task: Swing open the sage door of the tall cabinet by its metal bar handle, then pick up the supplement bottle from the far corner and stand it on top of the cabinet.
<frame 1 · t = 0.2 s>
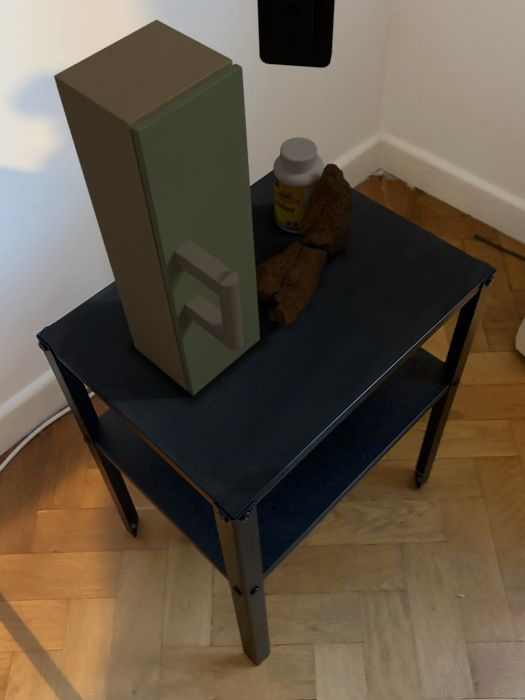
hand: (309, 5, 36), 41 cm above the table, tool pointing down, fingers open, 9 cm apart
cabinet: (194, 341, 75), on the table
cabinet door: (235, 275, 59), point 16 cm above the table, hinge at 0.0°
sculpture: (307, 279, 80), on the table
supplement bottle: (298, 220, 85), on the table
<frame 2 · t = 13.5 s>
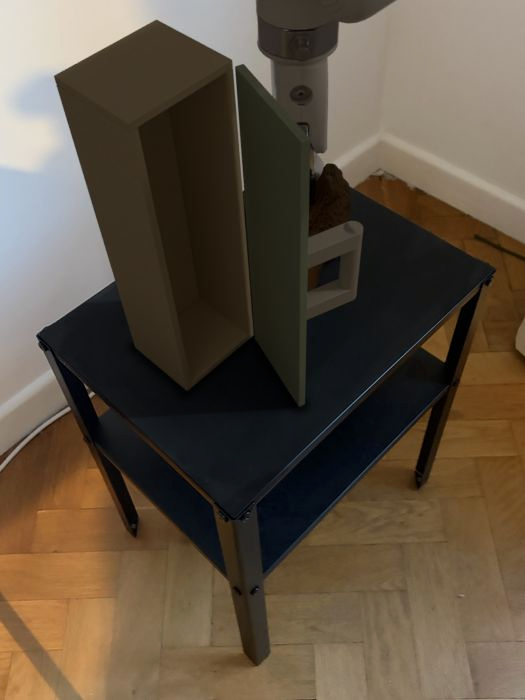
hand: (295, 173, 80), 7 cm above the table, tool pointing down, fingers open, 9 cm apart
cabinet door: (306, 251, 61), point 16 cm above the table, hinge at 71.1°
sculpture: (307, 279, 80), on the table, touching gripper
everything else where it was.
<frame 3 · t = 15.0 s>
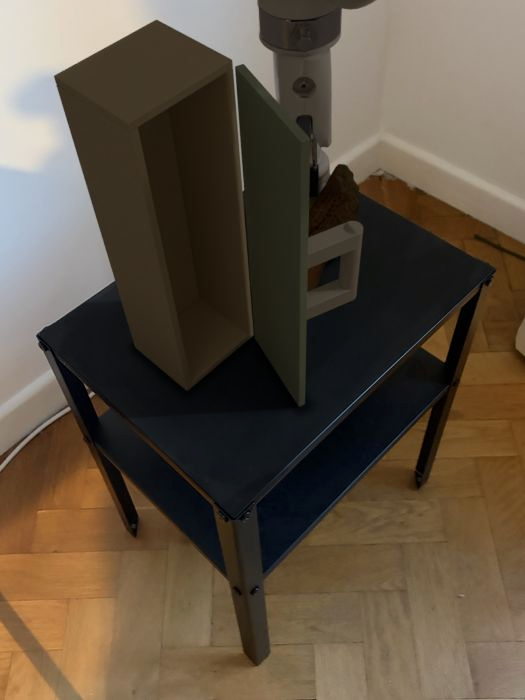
hand: (300, 175, 80), 7 cm above the table, tool pointing down, fingers closed on supplement bottle, 5 cm apart
sculpture: (306, 276, 80), on the table
supplement bottle: (308, 218, 84), point 1 cm above the table, touching gripper
everything else where it was.
when the fingers open (38 cm above the table, at t = 20.5 s): supplement bottle stays where it is, resting on cabinet.
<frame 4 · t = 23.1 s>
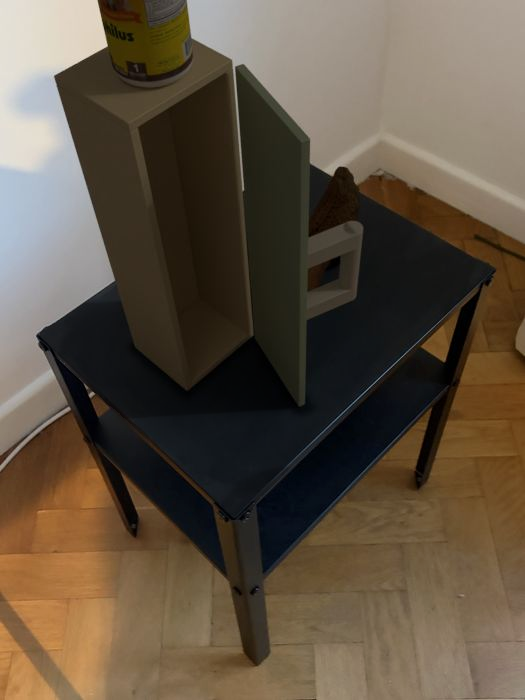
supplement bottle: (154, 70, 50), point 31 cm above the table, touching cabinet
everything else where it was.
at the end: cabinet door at +71° (first picture: +0°); supplement bottle inside the target area on the cabinet (0.8 cm from its centre), point 31.2 cm above the cabinet's base; supplement bottle tilted 0° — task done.
